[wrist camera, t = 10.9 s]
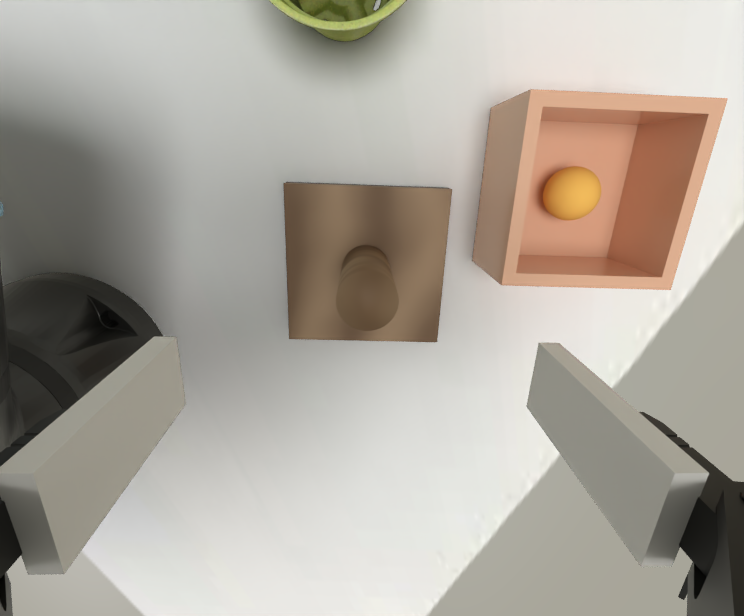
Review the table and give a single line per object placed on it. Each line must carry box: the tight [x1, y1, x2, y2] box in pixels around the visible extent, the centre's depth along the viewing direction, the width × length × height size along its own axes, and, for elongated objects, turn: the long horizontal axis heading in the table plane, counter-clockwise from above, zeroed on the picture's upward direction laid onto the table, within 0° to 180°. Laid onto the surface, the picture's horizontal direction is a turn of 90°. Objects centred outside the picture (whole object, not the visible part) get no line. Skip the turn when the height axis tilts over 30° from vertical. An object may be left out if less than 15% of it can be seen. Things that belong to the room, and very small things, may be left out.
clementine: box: [543, 166, 601, 221], centre depth 27 cm, size 4×4×4 cm
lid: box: [284, 183, 452, 342], centre depth 27 cm, size 12×12×9 cm
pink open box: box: [472, 89, 728, 290], centre depth 27 cm, size 11×11×7 cm
